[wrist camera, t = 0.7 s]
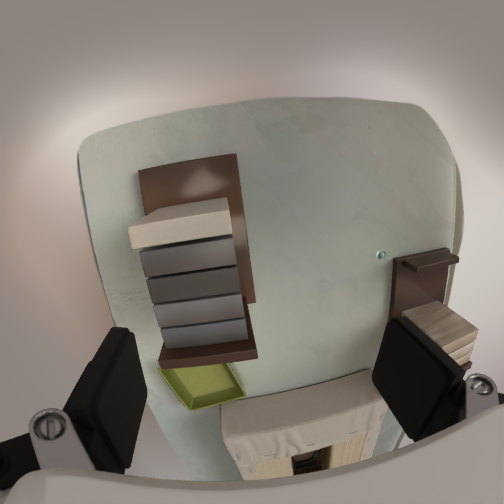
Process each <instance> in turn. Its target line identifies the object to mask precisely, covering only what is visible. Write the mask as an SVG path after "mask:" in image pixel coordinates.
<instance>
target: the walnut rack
mask: <svg viewBox="0 0 504 504" xmlns="http://www.w3.org/2000/svg"><path fill="white" fill-rule="evenodd" d="M138 173H139V180H140V186H141V193H142V199H143V205H144V210H145V216H147V215H148V214H150V213H152V212H153V211H155V210H157V209H159V208H163V207H169V206H175V205H181V204H186V203H192V202H199V201H205V200H211V199H218V198H225V197H226V198H227V202H228V207H229V212H230V219H231V226H232V234H227V235H220V236H214V237H207V238H201V239H194V240H188V241H181V242H175V243H169V244H163V245H156V246H150V247H144V248H143V249H142V250H141V251H140V257H141V261H142V265H143V270H144V274H145V277H148V279H147V280H146V281H147V285H148V289H149V292H150V296H151V300H152V303H154V306H153V307H154V311H155V314H156V318H157V321H158V324H159V327H161V334H162V337H163V340H164V342H163V346H162V349H161V353H160V356H159V360H158V361H159V364H160V367H161V369H176V368H187V367H198V366H207V365H216V364H224V363H231V362H238V361H245V360H252V359H258V354H257V348H256V343H255V339H254V334H253V329H252V324H251V319H250V314H249V310H248V305H247V304H250V303H256V300H255V292H254V285H253V277H252V270H251V262H250V254H249V247H248V239H247V232H246V224H245V216H244V209H243V201H242V193H241V186H240V178H239V170H238V163H237V155H236V154H228V155H221V156H214V157H207V158H201V159H195V160H189V161H183V162H178V163H172V164H167V165H162V166H157V167H152V168H147V169H143V170H139V171H138Z"/></svg>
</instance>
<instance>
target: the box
mask: <svg viewBox="0 0 504 504" xmlns="http://www.w3.org/2000/svg"><path fill="white" fill-rule="evenodd" d="M372 372H373V371H372V370H371V369H367V370H364V371H361V372H358V373H355V374H352V375H348V376H345V377H342V378H338V379H335V380H331V381H328V382H324V383H320V384H316V385H312V386H308V387H304V388H300V389H296V390H291V391H287V392H282V393H277V394H272V395H266V396H261V397H255V398H249V399H243V400H237V401H230V402H226V403H222V404H221V406H220V420H221V436H222V440H223V442H224V444H225V446H226V448H227V450H228V452H229V453H230V455H231V456H232V458H233V459H234V461H235V463H236V466H237V468H238V470H239V472H240V474H241V477H242V479H243V481H245V480H259V479H269V478H278V477H286V476H293V475H300V474H306V473H311V472H317V471H322V470H327V469H331V468H335V467H340V466H344V465H348V464H352V463H355V462H359V461H363V460H366V459H369V458H371V457H372V453H373V450H374V447H375V444H376V441H377V437H378V434H379V431H380V427H381V423H382V420H383V418H384V416H385V413H386V411H387V409H388V405H387V404H386V402H385V401H384V399H383V398H382V396H381V395H380V393H379V392H378V390H377V389H376V387H375V386H374V384H373V382H372Z"/></svg>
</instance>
